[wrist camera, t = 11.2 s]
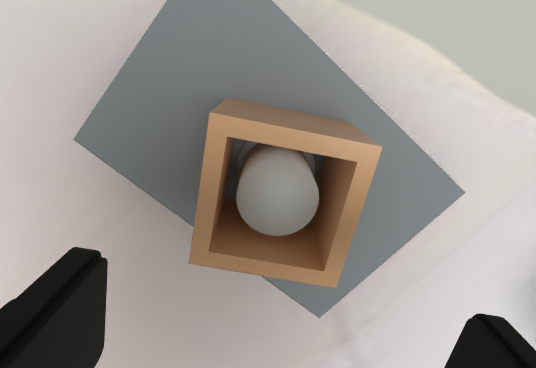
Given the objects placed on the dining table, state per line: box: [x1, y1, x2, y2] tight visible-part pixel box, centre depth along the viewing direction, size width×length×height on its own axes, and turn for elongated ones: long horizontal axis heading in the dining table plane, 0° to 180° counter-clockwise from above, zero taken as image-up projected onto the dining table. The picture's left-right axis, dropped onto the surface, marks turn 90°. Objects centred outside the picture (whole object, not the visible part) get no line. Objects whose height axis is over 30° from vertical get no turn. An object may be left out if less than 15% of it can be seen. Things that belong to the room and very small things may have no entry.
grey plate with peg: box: [73, 0, 465, 318], centre depth 18 cm, size 20×13×6 cm, turn 49°
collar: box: [189, 97, 383, 288], centre depth 17 cm, size 7×7×6 cm
